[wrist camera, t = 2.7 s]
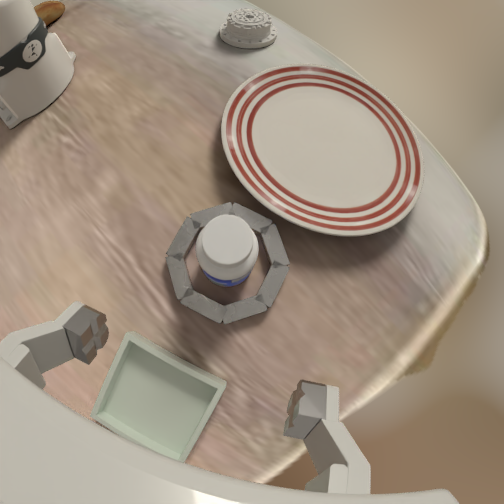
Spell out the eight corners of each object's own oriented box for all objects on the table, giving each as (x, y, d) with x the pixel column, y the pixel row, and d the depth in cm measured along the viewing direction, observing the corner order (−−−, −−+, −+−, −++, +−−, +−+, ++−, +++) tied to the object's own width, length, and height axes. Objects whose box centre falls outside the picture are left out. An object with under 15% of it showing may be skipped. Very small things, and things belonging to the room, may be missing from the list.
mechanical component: (233, 55, 39) (286, 44, 41) (234, 35, 35) (290, 25, 36) (211, 28, 41) (260, 19, 42) (211, 10, 36) (262, 2, 38)
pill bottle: (191, 260, 31) (175, 235, 22) (229, 228, 32) (229, 192, 23) (225, 298, 31) (222, 290, 21) (263, 265, 32) (276, 242, 22)
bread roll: (72, 14, 42) (64, -7, 34) (24, 48, 39) (12, 28, 31) (62, 9, 43) (54, -10, 36) (18, 41, 40) (8, 22, 32)
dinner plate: (182, 119, 35) (179, 103, 32) (327, 59, 40) (332, 45, 37) (313, 291, 32) (322, 288, 28) (440, 180, 37) (453, 171, 33)
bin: (98, 410, 26) (89, 415, 24) (134, 331, 29) (126, 331, 27) (184, 458, 26) (180, 468, 24) (226, 381, 29) (226, 386, 26)
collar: (151, 286, 30) (148, 285, 29) (205, 192, 33) (204, 187, 32) (253, 339, 30) (253, 340, 29) (301, 239, 33) (304, 236, 31)
